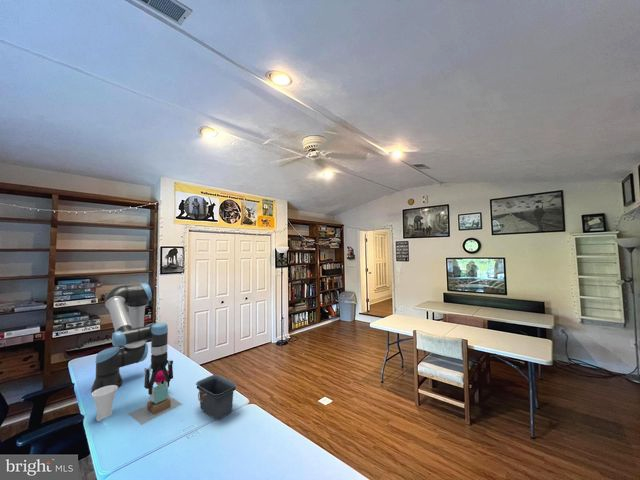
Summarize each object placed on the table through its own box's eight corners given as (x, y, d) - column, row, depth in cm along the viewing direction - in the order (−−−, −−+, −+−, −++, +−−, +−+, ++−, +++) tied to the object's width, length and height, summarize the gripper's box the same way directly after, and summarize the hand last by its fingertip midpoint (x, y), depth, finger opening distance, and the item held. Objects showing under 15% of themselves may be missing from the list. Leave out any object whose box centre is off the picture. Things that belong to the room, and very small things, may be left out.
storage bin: (239, 411, 135) (239, 383, 136) (212, 428, 123) (212, 397, 123) (216, 398, 148) (216, 373, 148) (189, 412, 135) (189, 384, 136)
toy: (161, 401, 146) (161, 374, 146) (148, 400, 147) (149, 373, 148) (172, 393, 154) (172, 368, 155) (160, 392, 156) (161, 367, 156)
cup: (87, 426, 126) (88, 398, 126) (94, 414, 135) (95, 388, 136) (114, 419, 131) (115, 392, 131) (119, 408, 140) (119, 383, 140)
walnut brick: (147, 409, 137) (147, 402, 137) (163, 402, 143) (163, 395, 143) (154, 414, 132) (154, 406, 132) (170, 406, 139) (170, 399, 139)
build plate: (127, 415, 134) (127, 413, 134) (168, 397, 150) (168, 395, 150) (141, 426, 125) (141, 424, 125) (182, 405, 141) (182, 404, 141)
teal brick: (150, 400, 137) (150, 388, 137) (162, 395, 142) (162, 384, 142) (155, 403, 134) (155, 391, 134) (167, 398, 139) (167, 386, 139)
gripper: (142, 360, 129) (142, 408, 128) (180, 348, 145) (180, 390, 144) (136, 357, 133) (135, 403, 132) (173, 346, 149) (173, 387, 148)
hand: (159, 396), depth 138 cm, fingers closed on teal brick, 6 cm apart
